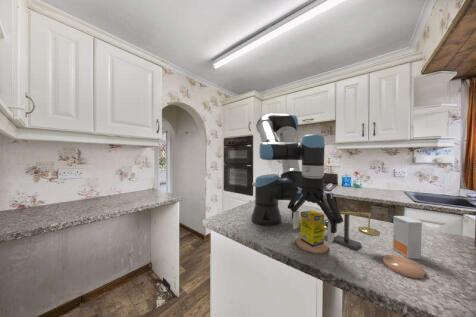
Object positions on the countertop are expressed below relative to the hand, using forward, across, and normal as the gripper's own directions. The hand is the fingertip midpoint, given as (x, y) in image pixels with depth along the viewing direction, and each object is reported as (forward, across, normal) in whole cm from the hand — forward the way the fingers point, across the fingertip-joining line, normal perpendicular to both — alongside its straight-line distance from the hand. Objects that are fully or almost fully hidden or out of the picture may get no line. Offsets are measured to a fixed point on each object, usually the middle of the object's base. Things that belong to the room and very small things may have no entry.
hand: (311, 234), depth 64 cm
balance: (+4, +7, +12) cm, 15 cm away
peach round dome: (+4, 0, 0) cm, 4 cm away
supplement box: (+3, 0, 0) cm, 3 cm away
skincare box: (+4, +22, +21) cm, 31 cm away
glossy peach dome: (+4, +23, +10) cm, 25 cm away
